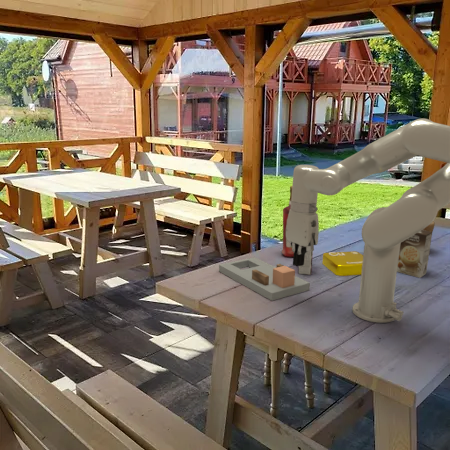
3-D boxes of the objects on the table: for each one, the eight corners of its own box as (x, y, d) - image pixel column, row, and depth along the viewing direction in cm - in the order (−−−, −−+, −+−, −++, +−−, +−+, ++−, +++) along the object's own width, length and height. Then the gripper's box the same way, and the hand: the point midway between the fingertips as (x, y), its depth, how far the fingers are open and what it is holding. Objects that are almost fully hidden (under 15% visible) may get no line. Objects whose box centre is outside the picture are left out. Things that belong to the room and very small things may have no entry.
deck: (309, 290, 152) (310, 282, 152) (271, 300, 144) (272, 293, 143) (254, 263, 176) (254, 257, 176) (219, 271, 168) (219, 264, 167)
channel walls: (293, 278, 155) (293, 269, 154) (265, 285, 149) (265, 276, 148) (279, 271, 161) (279, 263, 160) (251, 278, 154) (252, 270, 154)
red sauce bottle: (294, 251, 190) (297, 184, 183) (302, 257, 184) (306, 187, 176) (277, 253, 188) (280, 185, 181) (285, 259, 181) (289, 188, 174)
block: (294, 284, 150) (295, 270, 148) (282, 288, 147) (283, 273, 146) (284, 279, 154) (284, 265, 152) (272, 282, 151) (273, 268, 150)
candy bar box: (298, 263, 176) (301, 222, 172) (312, 265, 176) (314, 223, 171) (297, 274, 166) (299, 230, 162) (311, 275, 165) (314, 231, 161)
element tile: (337, 277, 165) (338, 264, 163) (320, 263, 179) (321, 251, 178) (375, 274, 168) (377, 262, 166) (356, 261, 182) (357, 249, 181)
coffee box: (395, 271, 170) (400, 229, 166) (402, 267, 174) (407, 226, 170) (420, 278, 164) (426, 234, 160) (427, 273, 168) (433, 231, 164)
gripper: (330, 211, 134) (324, 270, 139) (295, 200, 145) (291, 255, 150) (311, 214, 129) (306, 275, 135) (277, 202, 141) (273, 259, 146)
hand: (298, 264), depth 142 cm, fingers closed
